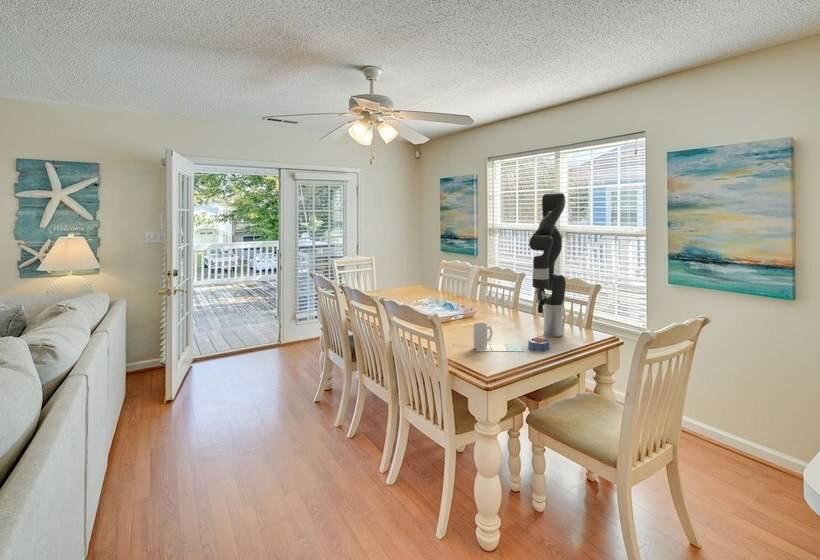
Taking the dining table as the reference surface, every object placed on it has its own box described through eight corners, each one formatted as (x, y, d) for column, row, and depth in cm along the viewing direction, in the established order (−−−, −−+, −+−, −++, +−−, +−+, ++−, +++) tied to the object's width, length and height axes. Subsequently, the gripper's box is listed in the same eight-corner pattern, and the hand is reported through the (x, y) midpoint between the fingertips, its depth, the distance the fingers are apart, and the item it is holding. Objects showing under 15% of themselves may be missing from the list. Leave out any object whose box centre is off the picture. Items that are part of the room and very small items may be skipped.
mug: (477, 351, 206) (477, 327, 204) (471, 347, 212) (471, 323, 210) (495, 348, 209) (495, 324, 207) (488, 344, 215) (488, 321, 213)
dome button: (539, 344, 212) (539, 334, 211) (547, 347, 207) (548, 337, 206) (529, 346, 210) (530, 336, 209) (538, 349, 204) (538, 339, 203)
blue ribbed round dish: (539, 343, 215) (539, 336, 214) (553, 349, 206) (553, 341, 205) (524, 346, 210) (524, 339, 210) (538, 352, 202) (538, 344, 201)
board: (519, 344, 214) (519, 344, 214) (523, 351, 204) (523, 351, 203) (474, 344, 216) (474, 344, 216) (476, 351, 205) (476, 351, 205)
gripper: (529, 275, 209) (529, 309, 212) (535, 280, 196) (535, 316, 199) (545, 274, 209) (544, 309, 211) (552, 279, 196) (551, 315, 198)
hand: (540, 312), depth 205 cm, fingers closed
